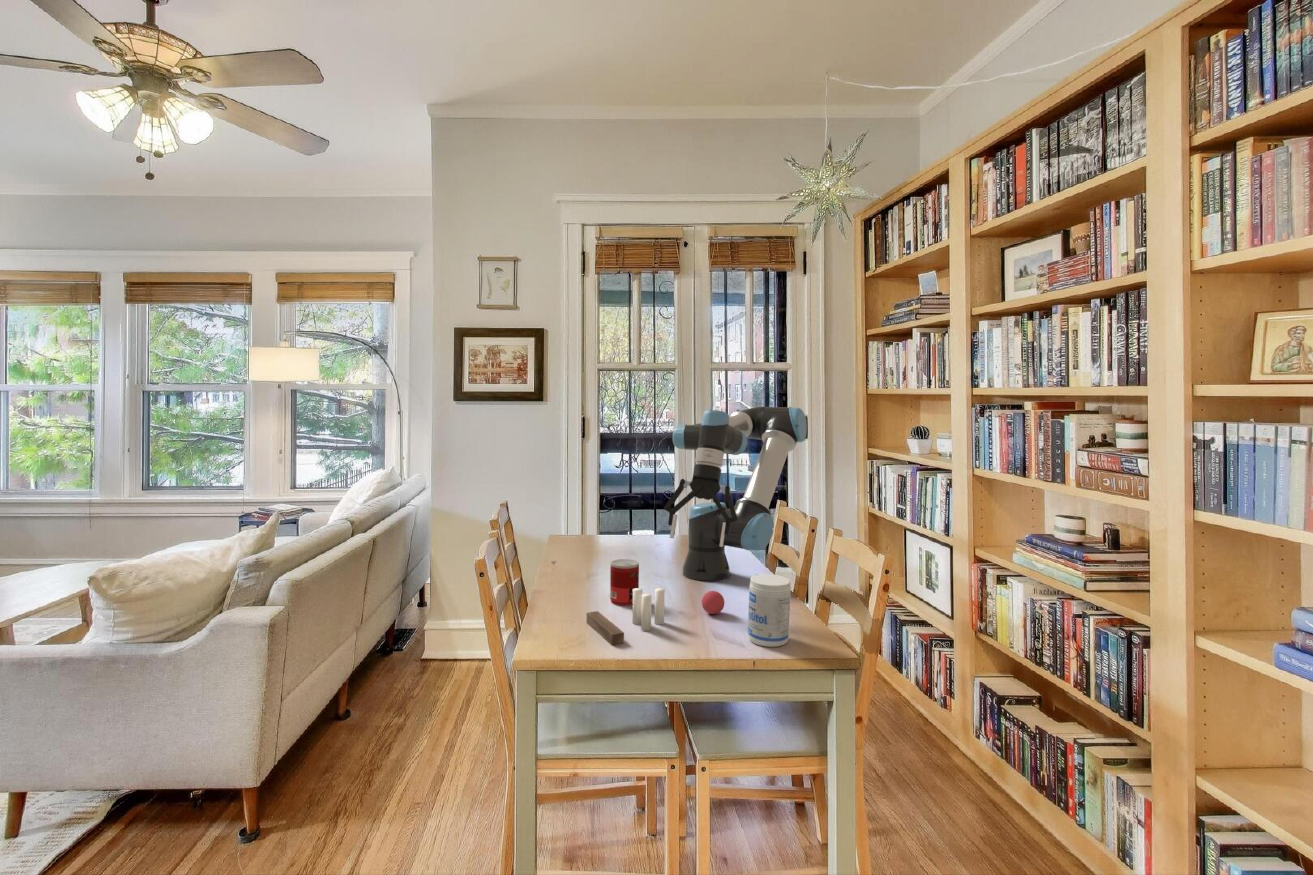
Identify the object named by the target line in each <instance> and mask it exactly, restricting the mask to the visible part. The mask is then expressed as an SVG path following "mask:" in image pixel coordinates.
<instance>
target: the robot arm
mask: <svg viewBox="0 0 1313 875" xmlns="http://www.w3.org/2000/svg"><path fill="white" fill-rule="evenodd" d="M702 413H703V414H702V418H701V421H700V423H695V424H678V425H676V426H675V427H674V428H673V431H672V443H673V446H674V447H676V449H679V450H685V451H687V450H688V451H689V450H690V451H696V455H695V463H696V464H695V465H694V466H693V473H692V478H691V481H689V480H685V479H684V478H681V479H680V480H679V484H678V486H677V488H676V489H675V491H674V493H673V494H672V495H671V496H670V498H669V499H668V501H667V502H666V504H665V505H664V506H663V509H664V510H665V511H666V512H668V513H669V515H668V516H669V517H668V522H667V523H668V524H667V526H671V528H670V532H669V533H670V534H669V539H675V535H676V534H675V533H676V526H677V521H678V514H676V513H677V512H679V511H680V510H681V509H682V508H683V507H684V506H685V505H686V504H688V503H689V502H690V501H691V500H693V499H694V498H696V499H700V500H703V499H704V500H707V501H709V500H713V502H704V503H698V504H697V503H696V504H693V505H692V506H690V509H689V512H688V513H689V514H688V515H689V516H688V550H687V553H686V557H685V558H684V563H683V565H682V575H683V576H684V577H687V578H688V579H692V580H696V581H697V580H698V581H706V582H707V581H708V582H710V581H711V582H713V581H721V580H725V579H727V578H729V577H730V573H731V572H730V571H731V569H730V565H729V562H728V558H727V555H726V549H725V547H730V548H735V549H736V548H737V549H740V550H742V549H743V550H745V551H761V550H763V549H765V548H766V547H767V546H768V544H769V543H770V542H771V539H772V537H773V534H774V530H773V529H774V527H775V522H774V518H773V517H772V512H771V510H770V508H769V507H770V505H771V501H772V500H773V497H774V494H775V491H776V488H777V485H778V482H779V479H780V478H781V477H780V476H781V473H782V472H783V471H782V470H783V468H784V465H785V462H786V460H787V457H788V455H789V452H792V451H794V449H795V448H796V445H797V443H803V442H804V441H806V437H807V433H808V432H807V431H808V430H807V429H808V428H807V418H806V415H805V413H804V411H803V410H802V408H800V407H792V406H788V407H787V406H786V407H785V406H784V407H783V406H782V407H780V406H755V407H750V408H747V409H743V410H739V411H735V412H732V414H731V415H729V413H727V412H725V411H722V410H718V409H707V410H705V411H704V412H702ZM748 439H751V440H760V441H761V440H762V442H763V444H762V448H761V450H760V452H759V455H758V458H757V461H756V462H755V465H754V468H753V471H752V473H751V475H750V479H749V480H748V484H747V486H746V489H745V491H744V494H743V497H742V498H740V499H738V500H737V501H736V502H735V505H734V503H733V500H732V497H731V488H730V486H729V485H725V486H724V485H721V484H720V482H721V481H720V480H721V475H722V468H721V467H723V463H724V462H723V461H724V457H725V456H724V455H725V453H726V454H728V455H732V456H738V455H740V454H742V453H743V452H745V451H746V449H747V446H748ZM688 487H690V489H691V491H690V492H688V494H687V495H686V496H684V498H682V499H681V500H680V501H679V502H678V503H677V504H675V502H677V501H676V500H677V499H678V498H679V497H680V496H681V494H682V492H683V491H684V490H685V489H686V488H688ZM720 491H721V492H722V494H723V495H725V498H726V502H727V504H726V503H725V502H722V501H719V499H718V497H717V494H718V493H720ZM674 504H675V505H674ZM673 505H674V506H673ZM726 505H727V506H728V508H727V506H726ZM672 506H673V507H672Z"/></svg>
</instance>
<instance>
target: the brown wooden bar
mask: <svg viewBox="0 0 1313 875" xmlns="http://www.w3.org/2000/svg"><path fill="white" fill-rule="evenodd" d="M586 624H587V625H588V626H590V627H591V628H592V629H593V630H594V631H595V632H597V633H598V634H599V635H600V636H601V637H602V638H603V639H604V640H605V641H606V642H608V643H609V645H611V646H615V645H621V644H624V643H625V632H624V631H623V630H621V629H620V628H619V627H618V626H616V624H614V623H613V622H612V621H611V620H609V619H608V618H607V617H605V615H603V614H602V613H601V612H600V611H598V610H595V611H590V612H586Z"/></svg>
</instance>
